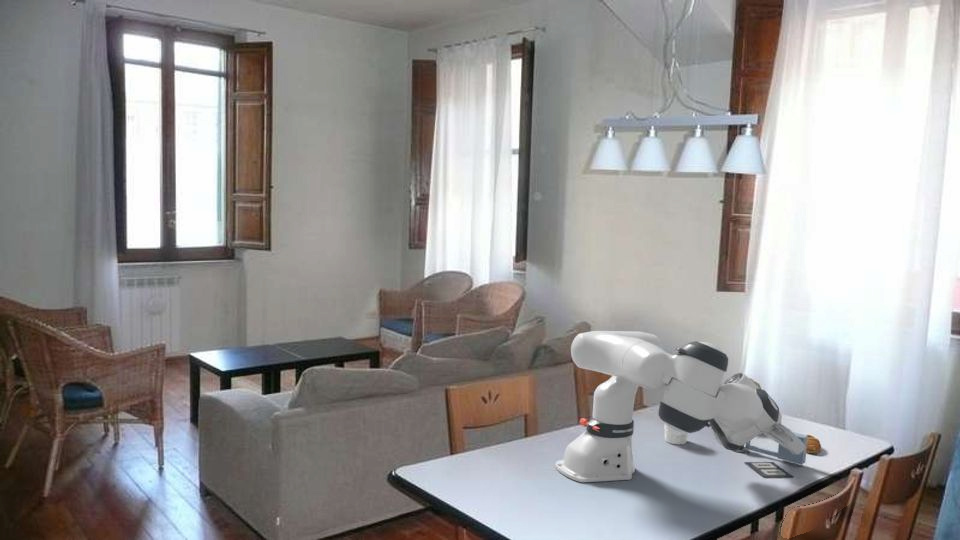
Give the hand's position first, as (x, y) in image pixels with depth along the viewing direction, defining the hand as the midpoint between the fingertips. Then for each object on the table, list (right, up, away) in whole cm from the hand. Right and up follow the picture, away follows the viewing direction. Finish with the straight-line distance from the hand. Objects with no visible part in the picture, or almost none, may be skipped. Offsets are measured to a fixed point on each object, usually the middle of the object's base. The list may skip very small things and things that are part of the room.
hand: (793, 451), depth 214 cm
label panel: (-8, -5, -3) cm, 10 cm away
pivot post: (-11, -3, +13) cm, 18 cm away
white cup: (-29, -2, +19) cm, 35 cm away
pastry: (+13, -4, +17) cm, 22 cm away
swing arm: (-5, -3, +8) cm, 10 cm away
